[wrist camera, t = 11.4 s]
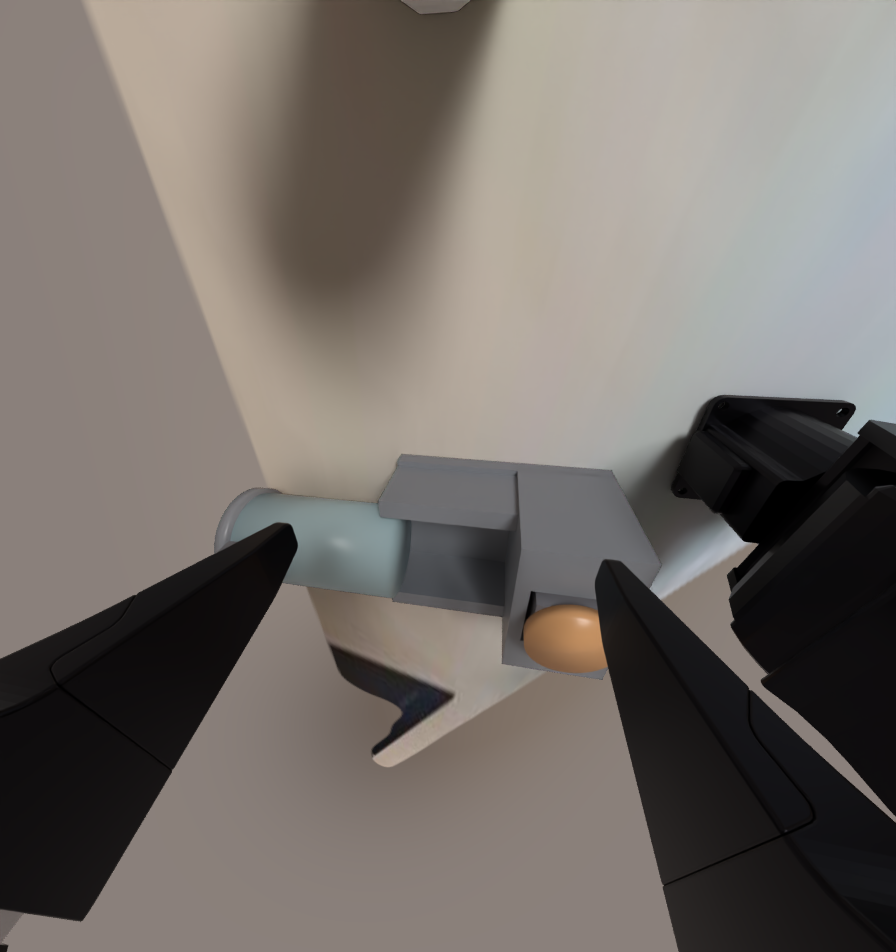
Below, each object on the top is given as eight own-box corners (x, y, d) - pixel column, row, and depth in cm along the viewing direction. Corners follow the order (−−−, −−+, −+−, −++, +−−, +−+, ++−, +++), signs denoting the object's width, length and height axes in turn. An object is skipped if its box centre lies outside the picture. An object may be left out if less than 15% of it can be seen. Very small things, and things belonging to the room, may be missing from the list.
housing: (611, 470, 21) (661, 565, 14) (577, 575, 26) (602, 680, 19) (401, 454, 22) (356, 530, 16) (410, 555, 28) (379, 644, 21)
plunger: (611, 560, 18) (635, 627, 14) (591, 611, 20) (607, 679, 17) (526, 551, 18) (530, 613, 15) (517, 602, 21) (518, 665, 17)
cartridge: (409, 482, 22) (351, 607, 14) (414, 550, 26) (370, 682, 18) (268, 470, 24) (139, 576, 15) (292, 536, 27) (197, 651, 19)
